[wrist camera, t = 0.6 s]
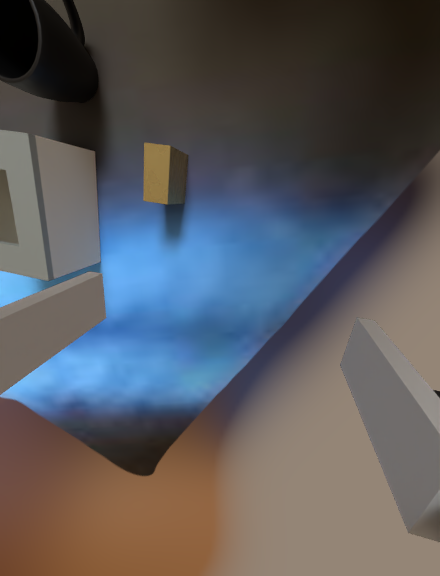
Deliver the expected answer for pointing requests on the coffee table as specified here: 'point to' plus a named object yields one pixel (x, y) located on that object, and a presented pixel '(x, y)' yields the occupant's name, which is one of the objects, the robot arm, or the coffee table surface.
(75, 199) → the box
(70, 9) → the mug
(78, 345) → the coffee table surface
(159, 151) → the tall tan block
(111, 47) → the coffee table surface
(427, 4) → the coffee table surface
